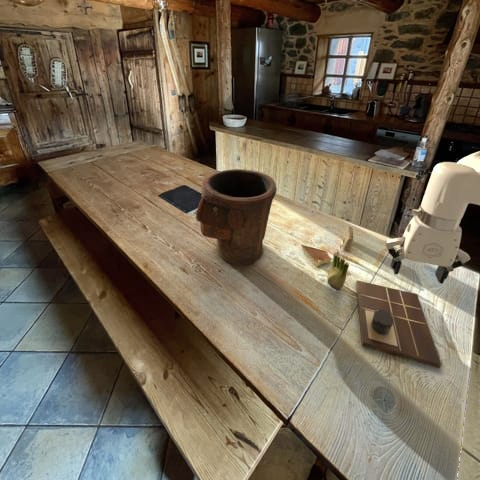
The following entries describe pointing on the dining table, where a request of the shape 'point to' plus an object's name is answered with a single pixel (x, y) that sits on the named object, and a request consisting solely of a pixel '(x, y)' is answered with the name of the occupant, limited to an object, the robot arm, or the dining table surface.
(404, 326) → the game board
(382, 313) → the slate stone
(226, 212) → the clay pot
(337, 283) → the fennel bulb
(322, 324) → the dining table surface
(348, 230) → the tan figurine
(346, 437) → the dining table surface
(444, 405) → the dining table surface
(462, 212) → the robot arm
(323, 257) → the shard
